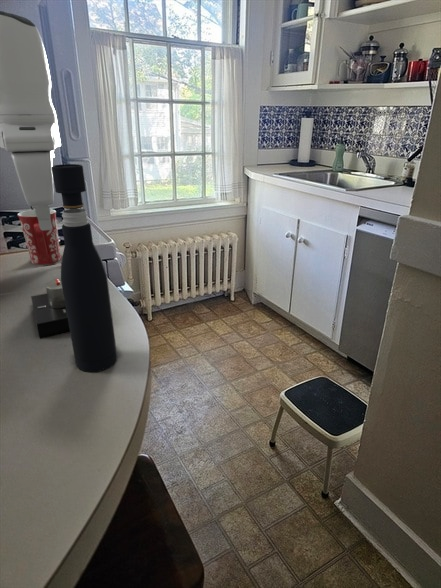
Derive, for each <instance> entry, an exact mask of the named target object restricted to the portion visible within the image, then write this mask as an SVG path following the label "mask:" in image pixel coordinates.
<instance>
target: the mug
mask: <svg viewBox="0 0 441 588" xmlns="http://www.w3.org/2000/svg"><path fill="white" fill-rule="evenodd" d="M17 217H18V219H19V223H20V226H21V229H22V230H21V231H22V233H23V236H24V239H25V240H24V241H25V244H26V249H27V251H28V255H29V259H30V262H31V263H32V264H34V265H44V267H49V266H53V265H54V266H55V263H57V262H59V261H60V260H62V257H61V248H60V243H59V242H60V240H59V231H58V223H57V211H56V210H55V209H51V208H50V218H51V224H52V229H51V230H41V229H40V226H39V221H38V218H37V215H36V212H35V209H28V210H24V211H20V212H18V213H17Z"/></svg>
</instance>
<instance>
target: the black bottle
mask: <svg viewBox="0 0 441 588" xmlns="http://www.w3.org/2000/svg"><path fill="white" fill-rule="evenodd" d="M51 168H52V174H53V186H54V192H55V193H56V194H61V200H62V207H63V209H64V210H62V211H61V212H62V214H61V217H62V218H63V219H62V222H63V224H62V225H61V231H62V236H63V241H64V242H63V243H64V247H63V252H62V257H61V264H60V280H61V284H62V289H63V295H64V300H65V306H66V312H67V317H68V323H69V328H70V332H69V334H70V340H71V344H72V350H73V356H74V362H75V366H76V368H77V369H78V370H79V371H82V372H86V373H98V372H103V371H105V370H108V369H110V368H111V367H112V366H114V365H115V363H116V362H118V361H117V360H118V352H117V344H116V338H115V337H116V336H115V328H114V320H113V312H112V305H111V297H110V296H111V295H110V287H109V281H108V280H109V279H108V274H107V271H106V267H105V265H104V262H103V260H102V256H100V252H99V251H98V250H97V248H96V245H95V243H94V240H93V239H94V238H93V233H92V224H91V223H90V222H88V221H89V218H88V217H87V216H88V212H87V210H86V209H84V208H83V207H84V205H85V204H84V202H83V194H82V193H85V192H86V191H87V187H86V178H85V171H84V165H83V164H79V163H78V164H77V163H64V164H54V165H52V167H51Z"/></svg>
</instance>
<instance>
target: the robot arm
mask: <svg viewBox="0 0 441 588" xmlns="http://www.w3.org/2000/svg"><path fill="white" fill-rule="evenodd" d="M51 91H52V80H51V73H50V68H49V63H48V58H47V53H46V49H45V45H44V41H43V39H42V35H41V34H40V30H39V29H38V28H37V26H36V24H34V23H33V21H32V20H30V19H29V18H26V17H24V16H21V15H17V14H14V13H10V12H6V11H3V10H0V148H1V149H4V150H5V151H6V152H7V153H10V157H11V160H12V162H13V165H14V168H15V172H16V175H17V179H18V181H19V185H20V188H21V191H22V194H23V196H24V199H25V201H26V204H27V206H29V207H34V210H35V212H36V215H37V218H38V221H39V226H40V229H41V230H51V229H52V224H51V218H50V209H51V208H50V205H54V202H55V201H54V200H55V199H54V198H55V196H54V195H55V186H54V179H53V174H52V168H51V167H52V166H53V159H55V157H56V156H55V153H54V152H55V150H56V149H57V148H60V147H62V143H61V137H60V131H59V124H58V118H57V112H56V110H55V107H54V105H53V102H52V97H51Z"/></svg>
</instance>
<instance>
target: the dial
mask: <svg viewBox="0 0 441 588" xmlns="http://www.w3.org/2000/svg"><path fill="white" fill-rule="evenodd" d="M45 289H46V294H47V295H48V300H49V305H50V307H52V308H57V309H59V308H65V307H66V306H65V300H64V295H63V289H62V284H61V279H59V278H55V279H54V280H53V281H50V282H48V283H47V284H46V285H45Z"/></svg>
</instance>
